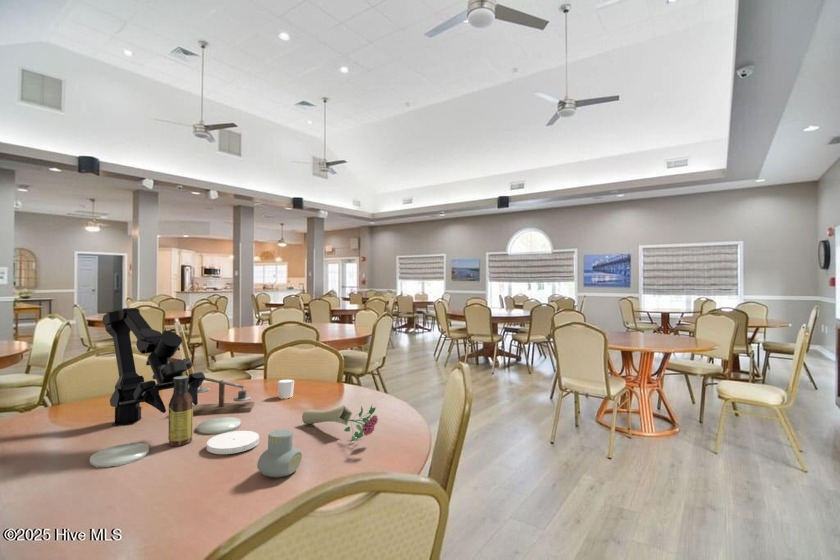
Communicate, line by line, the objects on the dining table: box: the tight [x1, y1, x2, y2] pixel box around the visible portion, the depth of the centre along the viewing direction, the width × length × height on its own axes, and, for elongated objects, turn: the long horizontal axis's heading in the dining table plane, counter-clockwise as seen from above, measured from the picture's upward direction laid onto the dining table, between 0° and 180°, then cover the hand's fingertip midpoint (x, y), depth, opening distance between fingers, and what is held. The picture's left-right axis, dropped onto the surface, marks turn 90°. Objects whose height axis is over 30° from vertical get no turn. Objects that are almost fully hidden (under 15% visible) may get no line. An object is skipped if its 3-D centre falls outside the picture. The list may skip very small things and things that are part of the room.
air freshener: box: [256, 428, 303, 478], centre depth 103 cm, size 11×8×10 cm
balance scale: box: [192, 377, 255, 416], centre depth 153 cm, size 22×8×13 cm, turn 103°
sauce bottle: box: [167, 375, 194, 447], centre depth 121 cm, size 7×6×20 cm
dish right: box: [196, 416, 242, 435], centre depth 135 cm, size 13×13×1 cm
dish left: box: [89, 442, 150, 468], centre depth 111 cm, size 13×13×1 cm
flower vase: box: [301, 404, 379, 443], centre depth 128 cm, size 12×12×35 cm
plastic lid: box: [206, 430, 260, 455], centre depth 119 cm, size 14×14×2 cm
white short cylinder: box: [277, 378, 295, 399], centre depth 172 cm, size 7×7×7 cm
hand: (181, 408), depth 121 cm, fingers open, 9 cm apart
